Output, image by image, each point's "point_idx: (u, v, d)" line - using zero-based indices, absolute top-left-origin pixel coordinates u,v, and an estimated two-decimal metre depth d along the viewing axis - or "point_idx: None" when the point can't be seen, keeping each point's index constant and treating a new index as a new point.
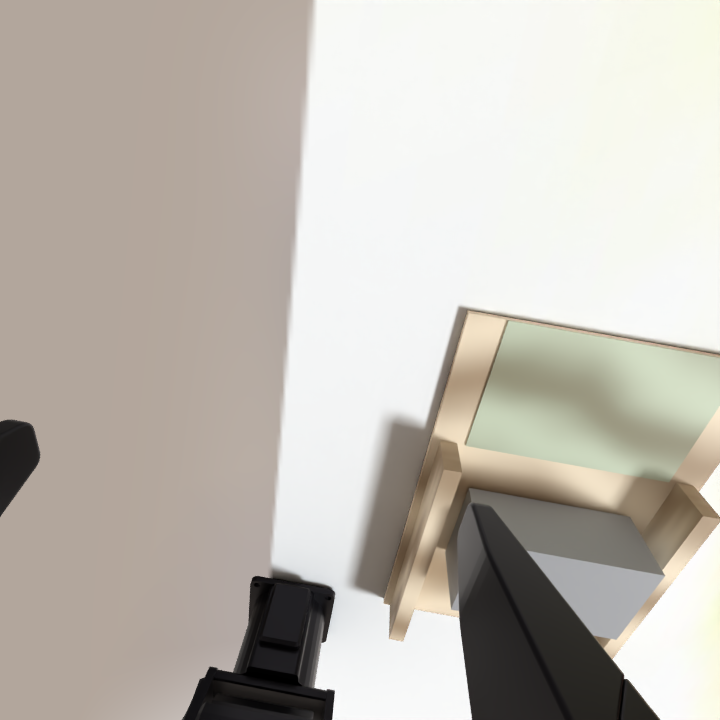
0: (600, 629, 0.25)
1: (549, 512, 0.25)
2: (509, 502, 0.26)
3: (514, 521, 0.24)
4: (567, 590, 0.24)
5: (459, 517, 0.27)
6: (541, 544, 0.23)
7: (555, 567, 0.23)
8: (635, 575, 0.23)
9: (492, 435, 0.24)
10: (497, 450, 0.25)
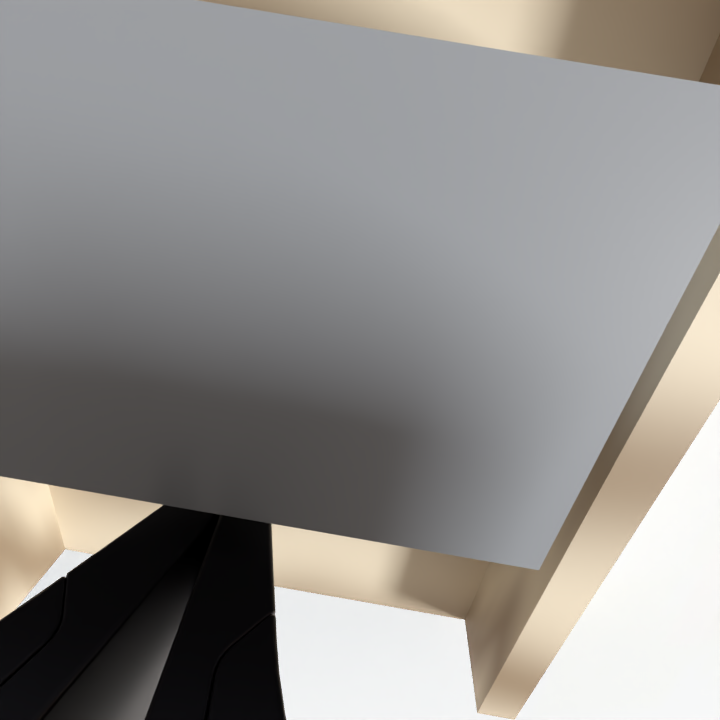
0: (466, 523, 0.06)
1: None
2: None
3: None
4: (258, 295, 0.05)
5: None
6: None
7: (130, 112, 0.04)
8: (595, 118, 0.04)
9: None
10: None
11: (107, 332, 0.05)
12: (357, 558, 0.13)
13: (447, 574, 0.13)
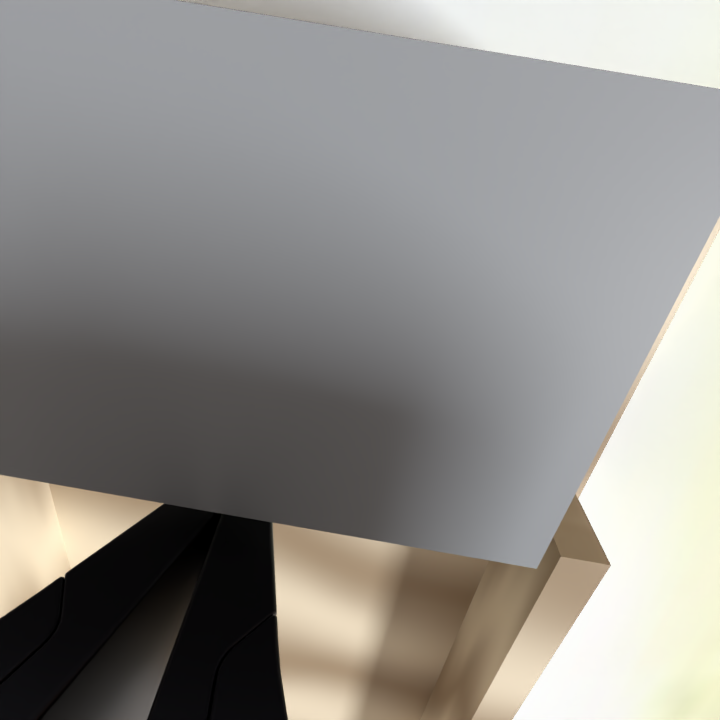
0: (465, 522, 0.06)
1: None
2: None
3: None
4: (256, 294, 0.05)
5: None
6: None
7: (133, 115, 0.04)
8: (591, 120, 0.04)
9: None
10: None
11: (108, 331, 0.05)
12: (322, 716, 0.17)
13: None
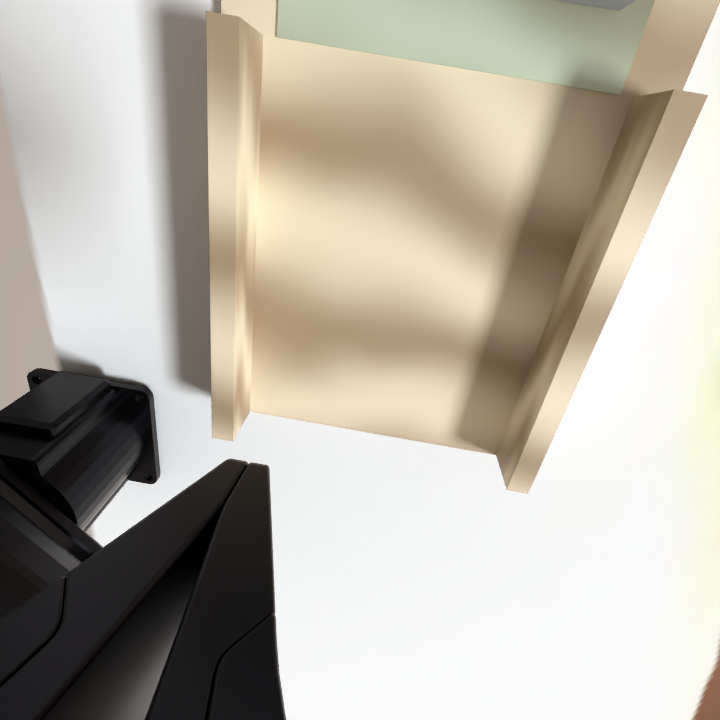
0: None
1: None
2: None
3: None
4: None
5: None
6: None
7: None
8: None
9: (316, 5, 0.14)
10: (330, 44, 0.15)
11: None
12: (433, 411, 0.21)
13: (487, 420, 0.21)
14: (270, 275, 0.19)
